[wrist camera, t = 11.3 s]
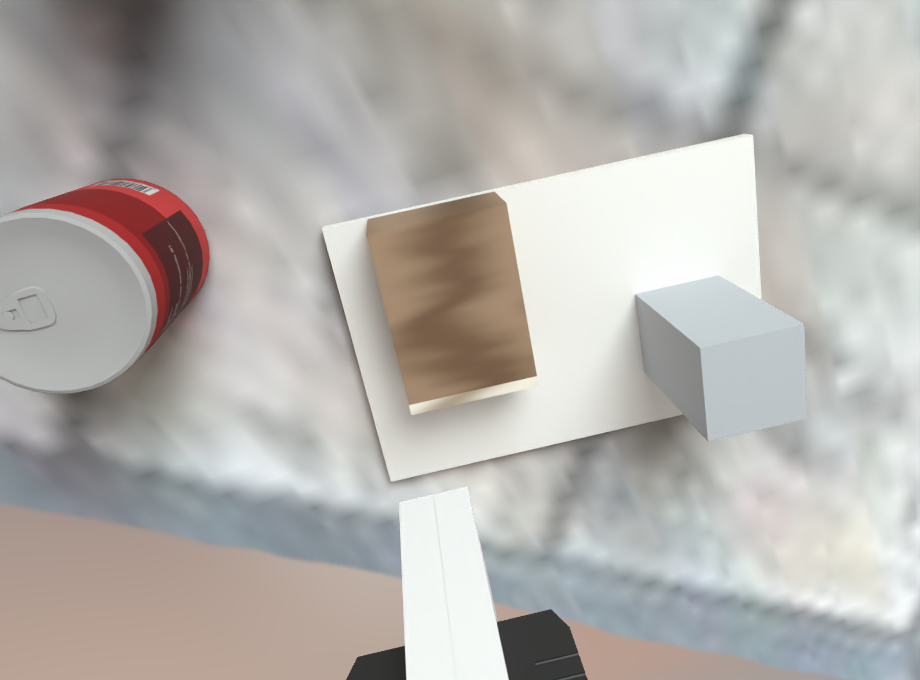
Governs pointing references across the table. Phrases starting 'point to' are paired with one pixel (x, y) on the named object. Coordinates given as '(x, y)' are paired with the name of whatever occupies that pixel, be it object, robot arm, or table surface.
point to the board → (567, 300)
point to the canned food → (93, 282)
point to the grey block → (723, 356)
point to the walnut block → (453, 301)
